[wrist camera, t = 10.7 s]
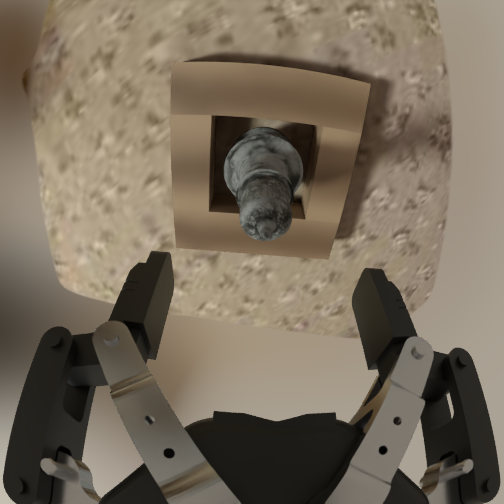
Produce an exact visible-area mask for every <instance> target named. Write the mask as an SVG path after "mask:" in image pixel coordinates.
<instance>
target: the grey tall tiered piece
mask: <svg viewBox="0 0 504 504" xmlns="http://www.w3.org/2000/svg"><path fill="white" fill-rule="evenodd" d="M302 177H303V165H302V160H301V157H300V156H299V154H298V152H297V150H296V149H295V148H294V147H293V146H292V145H291V143H290V142H289V140H288V139H287V138H286V137H285V136H284V135H283V134H282V133H280V132H279V131H277V130H275V129H271V128H268V127H258V128H254V129H250V130H248V131H247V132H245V133H243V134H242V135H241V136H240V137H239V138H238V139H237V140H236V142H235V144H234V146H233V148H232V149H231V150H230V152H229V154H228V155H227V157H226V160H225V164H224V178H225V181H226V184H227V186H228V188H229V189H230V190H231V192H232V193H233V194H234V195H235V196H236V201H237V204H238V206H239V207H240V214H239V219H240V224H241V226H242V229H243V230H244V232H245V233H246V234H247V235H248V236H250V237H251V238H254V239H256V240H260V241H271V240H275V239H277V238H280V237H281V236H283V235H284V234H285V233H286V232H287V231H288V230H289V228H290V225H291V223H292V211H291V204H292V201H293V199H294V193H295V192H296V190H297V189H298V187H299V186H300V183H301V180H302Z"/></svg>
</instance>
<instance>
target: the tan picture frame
mask: <svg viewBox="0 0 504 504" xmlns="http://www.w3.org/2000/svg"><path fill="white" fill-rule="evenodd" d="M370 87H371V84H369V83H365V82H361V81H357V80H353V79H349V78H345V77H340V76H336V75H331V74H326V73H320V72H315V71H309V70H303V69H296V68H289V67H281V66H272V65H262V64H250V63H234V62H172V70H171V170H172V192H173V210H174V224H175V237H176V248H184V249H197V250H210V251H223V252H236V253H249V254H263V255H276V256H289V257H302V258H316V259H329V256H330V253H331V249H332V246H333V243H334V239H335V236H336V232H337V229H338V225H339V222H340V218H341V215H342V211H343V207H344V204H345V200H346V196H347V192H348V188H349V185H350V181H351V177H352V173H353V168H354V164H355V160H356V156H357V151H358V147H359V142H360V138H361V133H362V128H363V124H364V119H365V114H366V109H367V103H368V98H369V92H370ZM216 115H217V116H236V117H250V118H262V119H272V120H281V121H289V122H297V123H304V124H311V125H315V126H314V132H313V138H312V144H311V150H310V155H309V161H308V167H307V172H306V178H305V183H304V189H303V194H302V199H301V203H299V202H292V204H291V211H292V223H291V225H290V228H289V230H288V231H287V232H286V233H285V234H284V235H283V236H281V237H280V238H277V239H275V240H271V241H260V240H256V239H254V238H251V237H250V236H248V235H247V234H246V233H245V232H244V230H243V229H242V226H241V224H240V219H239V214H240V207H239V206H238V204H237V201H236V197H230V196H216V195H213V194H214V160H215V135H216Z"/></svg>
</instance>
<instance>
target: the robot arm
mask: <svg viewBox="0 0 504 504" xmlns="http://www.w3.org/2000/svg"><path fill="white" fill-rule="evenodd" d="M173 291H174V276H173V269H172V260H171V254H170V253H169V252H159V251H151V253H150V255H149V257H148V259H147V262H146V263H138V264H137V265H136V266H134V267H133V268H132V269H131V270H130V272H129V274H128V276H127V279H126V282H125V283H124V285H123V288H122V290H121V292H120V294H119V297H118V299H117V301H116V304H115V306H114V309H113V311H112V314H111V316H110V318H109V320H108V322H105V323H103V324H101V325H100V326H99V327H97V329H96V330H95V332H93V333H88V334H79V335H71V333H70V331H69V330H68V329H66V328H64V327H53V328H51V329H49V330H48V331H47V332H46V333H45V334H44V335H43V337H42V338H41V341H40V343H39V346H38V348H37V351H36V353H35V356H34V359H33V361H32V364H31V367H30V370H29V372H28V375H27V378H26V381H25V384H24V387H23V391H22V394H21V397H20V401H19V404H18V407H17V411H16V415H15V419H14V423H13V427H12V431H11V435H10V440H9V445H8V450H7V455H6V461H5V467H4V474H3V483H4V488H5V490H6V492H7V494H8V496H9V497H10V498H11V499H12V500H13V501H14V502H15V503H16V504H483V503H486V502H489V501H491V500H492V499H493V498H494V497H495V496H496V494H497V493H498V490H499V487H500V472H499V465H498V458H497V452H496V446H495V440H494V435H493V430H492V426H491V421H490V417H489V413H488V409H487V405H486V401H485V398H484V394H483V391H482V387H481V384H480V381H479V378H478V374H477V372H476V368H475V365H474V362H473V360H472V358H471V356H470V354H469V353H468V352H467V351H465V350H464V349H462V348H454V349H453V350H452V351H451V352H450V353H449V354H443V353H439V352H435V351H433V350H432V347H431V345H430V344H429V343H428V342H427V341H426V340H424V339H423V338H420V337H418V336H417V333H416V330H415V328H414V325H413V323H412V320H411V318H410V315H409V313H408V310H407V309H406V305H405V303H404V302H403V298H402V296H401V294H400V291H399V290H398V288H397V287H396V286H395V285H394V284H393V283H392V282H391V281H388V280H387V278H386V275H385V273H384V271H383V270H382V269H374V268H365V269H364V270H363V272H362V274H361V277H360V279H359V281H358V284H357V286H356V288H355V290H354V293H353V296H352V307H353V311H354V314H355V318H356V322H357V326H358V330H359V333H360V337H361V341H362V345H363V349H364V354H365V358H366V361H367V366H368V370H374V369H378V372H379V375H378V376H377V377H376V379H375V381H374V383H373V384H372V386H371V388H370V390H369V392H368V394H367V396H366V398H365V400H364V402H363V403H362V405H361V407H360V408H359V410H358V412H357V413H356V414H355V415H354V417H353V418H352V419H351V421H350V422H349V423H346V422H344V421H341V420H336V413H335V412H334V413H317V414H305V415H301V416H298V417H294V418H290V419H286V420H282V421H272V420H268V419H263V418H260V417H256V416H252V415H249V414H245V413H231V412H218V411H214V414H213V418H207V419H203V420H200V421H197V422H194V423H192V424H190V425H188V426H186V427H185V428H184V427H183V426H182V424H181V422H180V421H179V419H178V418H177V416H176V415H175V413H174V411H173V410H172V408H171V406H170V405H169V403H168V401H167V400H166V398H165V396H164V395H163V393H162V391H161V389H160V388H159V386H158V384H157V382H156V381H155V379H154V377H153V375H152V374H151V373H150V371H149V370H148V367H147V366H146V363H147V359H154V360H156V357H157V353H158V349H159V344H160V341H161V337H162V333H163V329H164V325H165V321H166V318H167V314H168V310H169V306H170V303H171V299H172V296H173ZM104 385H109V387H110V389H111V392H110V395H111V398H112V400H113V402H114V405H115V407H116V409H117V411H118V413H119V415H120V417H121V420H122V422H123V424H124V426H125V428H126V430H127V432H128V434H129V436H130V437H131V439H132V441H133V443H134V445H135V447H136V449H137V451H138V452H139V454H140V456H141V457H142V459H143V461H144V463H143V464H142V465H141V466H140V467H139V468H137V469H136V470H135V471H134V472H133V473H132V474H130V475H129V476H128V477H127V478H125V479H124V480H123V481H122V482H120V483H119V484H118V485H117V486H116V487H114V488H113V489H112V490H110V491H109V492H108V493H107V494H105V495H104V496H103V497H102V498H100V497H99V496H98V494H97V493H96V491H95V490H94V487H93V483H92V474H91V472H90V470H89V468H88V467H87V466H86V465H85V464H84V463H83V462H82V455H83V449H84V443H85V437H86V431H87V426H88V421H89V415H90V411H91V406H92V402H93V397H94V393H95V388H96V386H104ZM449 392H450V396H451V400H452V405H453V409H454V416H453V418H451V413H450V409H449V405H448V400H447V396H446V395H447V394H448V393H449ZM419 419H421V424H422V430H423V437H424V444H425V451H426V459H427V470H426V471H425V473H424V476H423V477H422V478H421V480H420V487H421V489H420V488H419V487H418V486H417V485H416V484H415V483H414V482H413V481H411V479H409V478H408V477H407V476H406V475H405V474H404V473H403V472H402V471H401V470H400V469H399V468H398V466H399V464H400V462H401V460H402V458H403V456H404V454H405V452H406V450H407V448H408V445H409V443H410V441H411V439H412V436H413V434H414V431H415V429H416V427H417V424H418V421H419Z"/></svg>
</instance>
